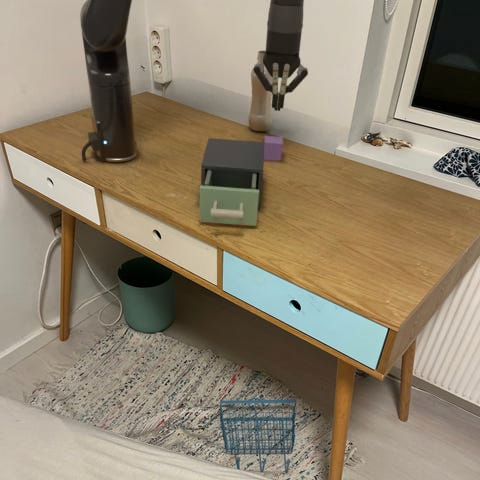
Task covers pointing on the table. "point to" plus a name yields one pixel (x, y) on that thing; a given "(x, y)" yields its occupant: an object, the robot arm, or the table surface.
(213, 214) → the drawer
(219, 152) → the cabinet
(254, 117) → the plastic bottle
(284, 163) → the table surface
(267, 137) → the block
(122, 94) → the robot arm
